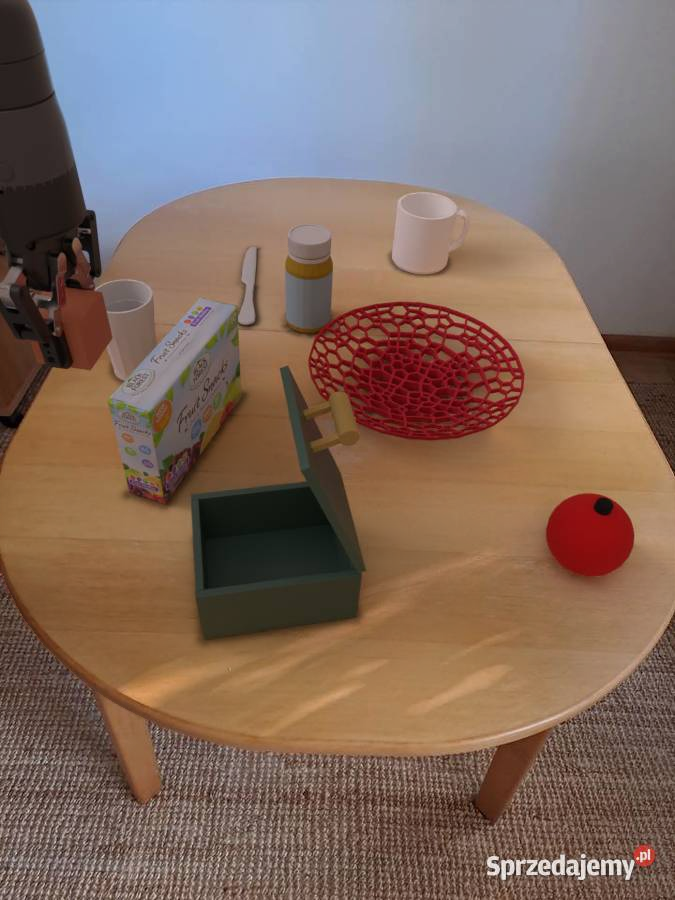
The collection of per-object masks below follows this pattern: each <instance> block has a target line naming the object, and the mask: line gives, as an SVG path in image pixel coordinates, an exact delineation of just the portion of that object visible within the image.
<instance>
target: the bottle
mask: <svg viewBox="0 0 675 900" xmlns="http://www.w3.org/2000/svg"><path fill="white" fill-rule="evenodd" d="M331 250H332V233H331V231H330V229H329V228H327V227H326V226H323V225H320V224H316V223H301V224H297V225H295V226H292V227H291V228H290V229H289V230H288V233H287V253H288V254H287V256H286V259H285V261H284V262H285V263H284V264H285V265H284V286H285V288H284V291H285V322H286V324H287V325H288V326H289V327H290V328H292V330H294V331H295V332H297V333H301V334H306V335H307V334H309V335H311V334H318V333H319V332H320V331H321V330H322V329H323V327H324V326H325V325H327V324H328V323H330V322H331V317H332V296H333V295H332V294H333V276H334V275H333V274H334V261H333V259H332V255H331V254H332V253H331V252H332V251H331Z"/></svg>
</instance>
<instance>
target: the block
mask: <svg viewBox="0 0 675 900" xmlns="http://www.w3.org/2000/svg"><path fill="white" fill-rule="evenodd" d="M65 292H66V305H65V306H64V307H63V308H62V309H61V315H62V331H64V332H65V336H66V339H67V342H68V346H69V349H70V352H71V356H72V359H73V364H72V365H71V367H70V368H71V369H76V370H77V369H79V370H85V371H92V369H93V368H94V366H95V365H96V364H97V362H98V361H99V359H100V358H101V356H102V355H103V353H104V351H105V350H107V348H106V347H107V346H108V344H109V343H110V341H111V340H112V338H113V336H112V332H111V328H110V324H109V319H108V315H107V311H106V307H105V303H104V298H103V294H102V292H97V291H90V290H83V289H75V288H68V287H65ZM39 295H42V296H49V297H52V292H44V291H41V293H40V294H39ZM39 311H40V313H41V315H42V317H43V319H44V320H48V321H49V315H48V311H47V310H46V309H44V308H39ZM30 344H31V347H32V350H33V351H32V352H33V354H34V356H35V360H36V362H37V363H38V364H42V365H43V364H44V365H47V364H46V363H45V361H44V358H43V355H42V352H41V349H40V346H39V344H38V342H36V341H30ZM70 368H69V369H70Z"/></svg>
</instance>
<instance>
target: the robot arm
mask: <svg viewBox="0 0 675 900" xmlns="http://www.w3.org/2000/svg"><path fill="white" fill-rule="evenodd" d="M69 133H70V132H69V129H68V125H67V121H66V118H65V116H64V112H63V110H62V108H61V105H60V103H59V99H58V96H57V93H56V90H55V85H54V82H53V79H52V74H51V70H50V65H49V61H48V57H47V53H46V48H45V44H44V40H43V36H42V33H41V29H40V26H39V23H38V20H37V17H36V15H35V13H34V10H33V8H32V5H31V4H30V2H29V0H0V241H1V242H2V243H3V244H4V246H5V247H4V248H5V253H6V254H5V255H6V265H7V269H8V272H7V274H6V275H5V277H4V279H3V280H2V281H0V315H1V316H2V318H3V319H4V321H5V323H6V324H7V326H8V327H9V329H10V331H11V333H12V334H13V336H14V337H15V339H16V340H18V341H19V340H20V341H36V342H38V344H39V346H40V349H41V352H42V355H43V358H44V361H45V363H46V364H45V365H46V366H49V367H51V368H56V369H63V370H69V369H70V367H71V365H72V364H73V359H72V356H71V352H70V349H69V346H68V342H67V339H66V336H65V332H64V331H62V315H61V309H62V308H63V307H64V306H65V305H66V292H65V287H68V288H75V289H83V290H90V291H95V289H96V284H95V281H94V280H95V278H97V279H99V278H101V276H102V272H103V268H102V261H101V251H100V242H99V241H100V240H99V232H98V224H97V223H98V222H97V215H96V212H95V210H93V209H87V205H86V202H85V201H86V200H85V198H84V194H83V189H82V186H81V185H82V184H81V180H80V176H79V171H78V167H77V162H76V158H75V155H74V151H73V146H72V142H71V137H70V134H69ZM84 252H86V253H87V254H88V259H89V261H88V260H87V258H86V256H85V254H84ZM34 290H35V291H38V292H43V291H44V292H52V297H49V296H42V295H40V294H36V293H35V292H34ZM39 308H44V309H46V310H47V311H48V315H49V321H48V320H44V319H43V317H42V315H41V313H40V311H39Z"/></svg>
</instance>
